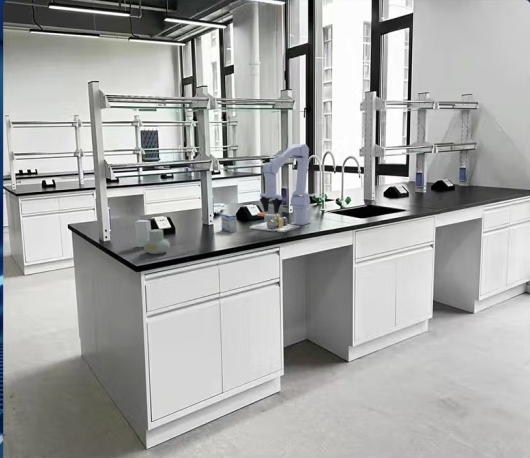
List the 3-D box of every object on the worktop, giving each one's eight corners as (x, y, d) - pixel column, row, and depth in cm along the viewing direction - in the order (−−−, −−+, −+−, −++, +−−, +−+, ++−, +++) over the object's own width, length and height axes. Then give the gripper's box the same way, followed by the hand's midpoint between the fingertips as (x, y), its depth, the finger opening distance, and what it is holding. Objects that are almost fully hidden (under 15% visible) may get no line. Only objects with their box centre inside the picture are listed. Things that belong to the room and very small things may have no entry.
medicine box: (221, 230, 257) (220, 214, 255) (228, 229, 260) (227, 213, 258) (230, 232, 251) (229, 216, 249) (237, 231, 254) (236, 215, 252)
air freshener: (173, 251, 213) (171, 229, 211) (163, 255, 205) (162, 232, 203) (151, 249, 216) (150, 228, 214) (141, 254, 209) (139, 231, 207)
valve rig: (266, 223, 273) (266, 213, 272) (299, 227, 261) (299, 216, 259) (249, 228, 260) (249, 217, 259) (283, 232, 248) (283, 221, 247)
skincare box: (152, 245, 225) (151, 220, 222) (148, 247, 220) (146, 221, 218) (141, 245, 226) (139, 219, 224) (136, 247, 222) (134, 221, 220)
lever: (280, 217, 259) (280, 214, 259) (278, 217, 257) (278, 215, 257) (260, 214, 267) (260, 212, 267) (257, 215, 265) (257, 213, 265)
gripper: (255, 186, 250) (256, 211, 253) (275, 187, 240) (275, 214, 243) (265, 184, 255) (265, 210, 258) (284, 186, 245) (285, 213, 247)
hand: (271, 212), depth 251 cm, fingers open, 7 cm apart
